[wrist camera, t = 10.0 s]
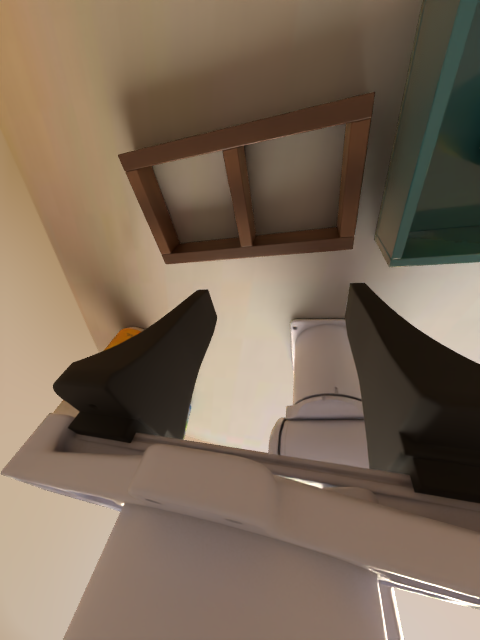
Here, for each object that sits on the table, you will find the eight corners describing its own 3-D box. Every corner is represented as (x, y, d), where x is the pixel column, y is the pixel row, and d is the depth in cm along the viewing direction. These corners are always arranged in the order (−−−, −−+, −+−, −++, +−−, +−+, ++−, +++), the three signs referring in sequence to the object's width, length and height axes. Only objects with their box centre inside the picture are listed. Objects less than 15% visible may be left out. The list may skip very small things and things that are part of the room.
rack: (348, 237, 19) (352, 249, 17) (175, 253, 23) (165, 264, 21) (367, 93, 13) (375, 91, 12) (134, 150, 17) (117, 154, 16)
